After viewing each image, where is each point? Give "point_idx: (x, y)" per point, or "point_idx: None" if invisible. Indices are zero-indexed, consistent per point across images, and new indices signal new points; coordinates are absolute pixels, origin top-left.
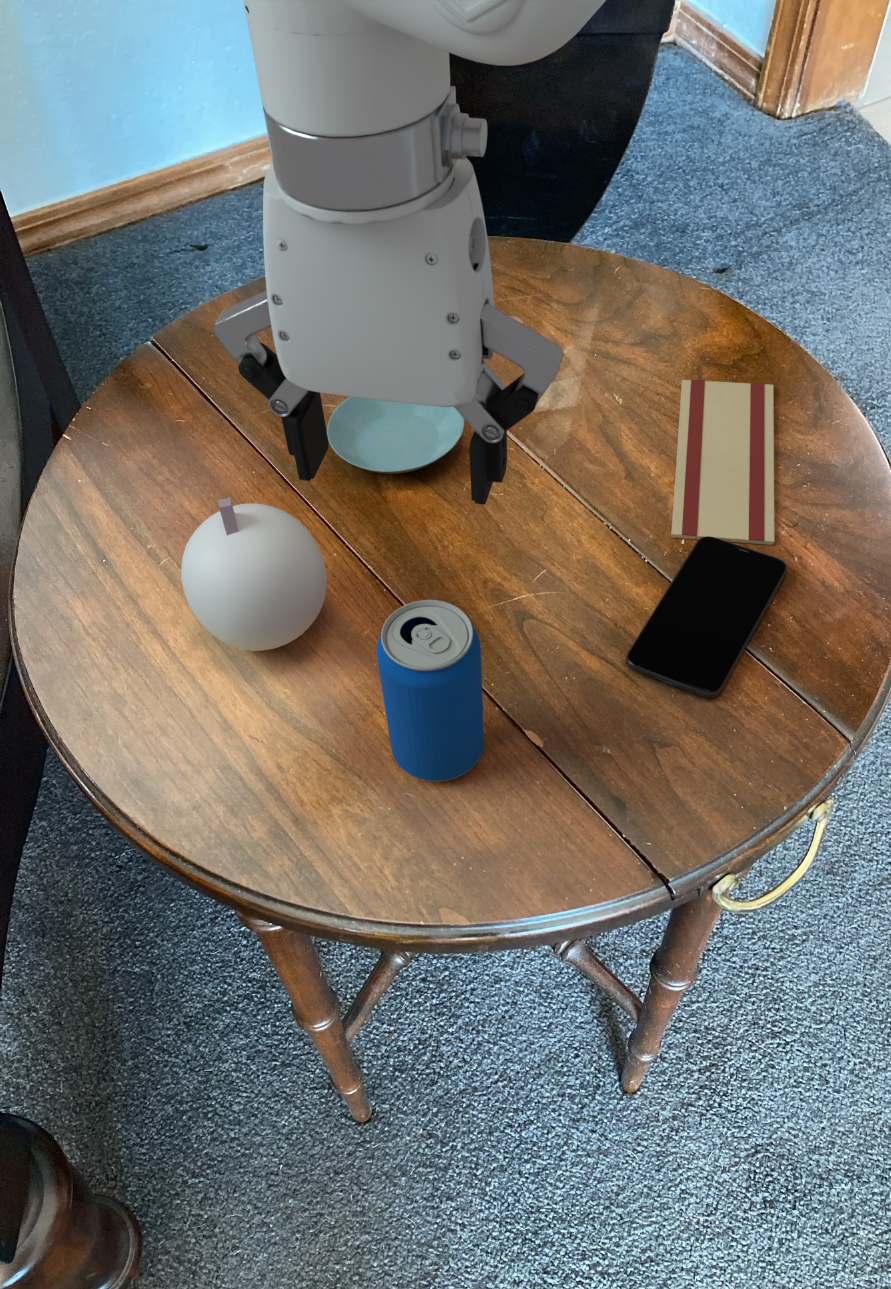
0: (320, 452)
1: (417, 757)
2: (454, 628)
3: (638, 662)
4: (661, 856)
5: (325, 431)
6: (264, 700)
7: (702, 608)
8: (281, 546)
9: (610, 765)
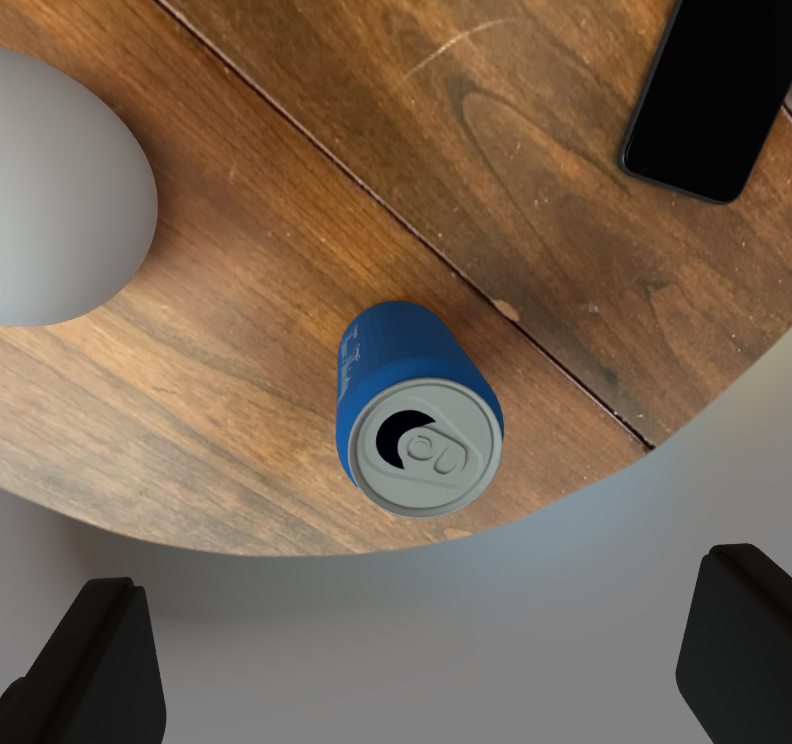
0: (141, 680)
1: (393, 429)
2: (466, 424)
3: (638, 168)
4: (653, 426)
5: (114, 646)
6: (143, 330)
7: (734, 32)
8: (44, 215)
9: (599, 328)
